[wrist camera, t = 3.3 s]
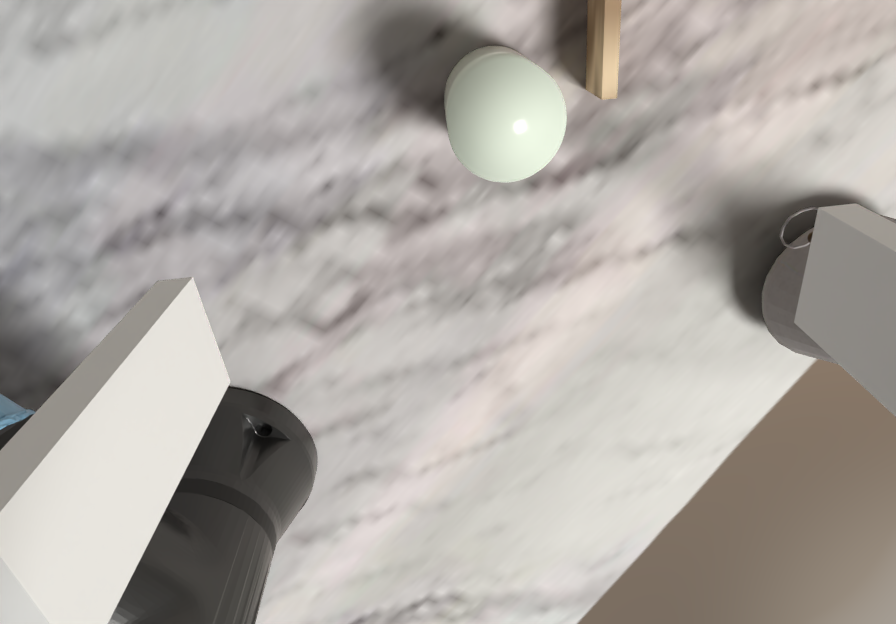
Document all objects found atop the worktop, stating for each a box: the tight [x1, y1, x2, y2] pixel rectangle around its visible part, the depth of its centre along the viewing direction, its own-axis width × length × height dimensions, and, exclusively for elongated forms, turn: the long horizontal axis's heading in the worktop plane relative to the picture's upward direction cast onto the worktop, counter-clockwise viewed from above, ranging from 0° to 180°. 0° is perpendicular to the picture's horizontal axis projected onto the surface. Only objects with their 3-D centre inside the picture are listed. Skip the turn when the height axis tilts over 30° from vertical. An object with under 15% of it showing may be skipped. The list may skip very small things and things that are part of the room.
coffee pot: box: [762, 206, 896, 364], centre depth 37 cm, size 21×12×15 cm, turn 53°
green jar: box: [444, 46, 567, 182], centre depth 35 cm, size 6×6×8 cm
